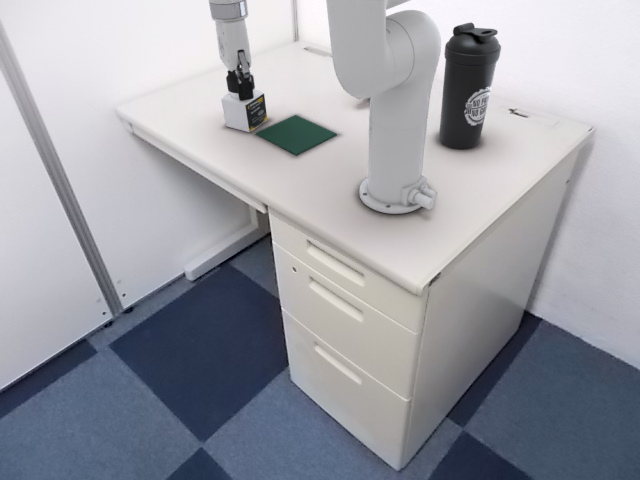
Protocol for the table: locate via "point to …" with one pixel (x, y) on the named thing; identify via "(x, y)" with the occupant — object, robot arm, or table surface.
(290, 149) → the cutting mat
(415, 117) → the robot arm
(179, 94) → the table surface
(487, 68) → the water bottle
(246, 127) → the medicine bottle
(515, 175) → the table surface
